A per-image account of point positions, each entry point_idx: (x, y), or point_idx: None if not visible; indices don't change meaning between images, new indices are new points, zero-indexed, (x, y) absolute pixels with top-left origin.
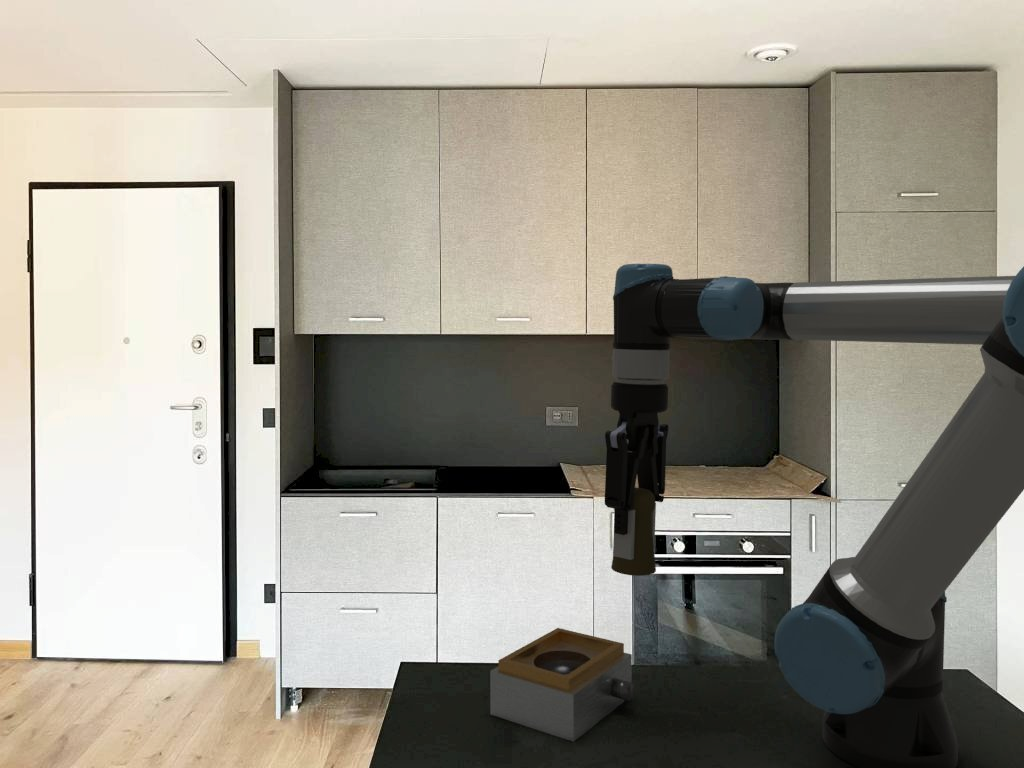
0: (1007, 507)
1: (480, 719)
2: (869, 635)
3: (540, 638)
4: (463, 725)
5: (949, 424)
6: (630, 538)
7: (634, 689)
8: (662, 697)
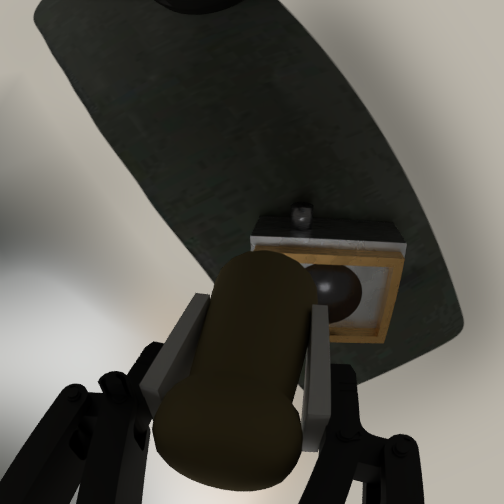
0: None
1: None
2: None
3: None
4: (404, 318)
5: None
6: (329, 346)
7: (291, 205)
8: (240, 185)
